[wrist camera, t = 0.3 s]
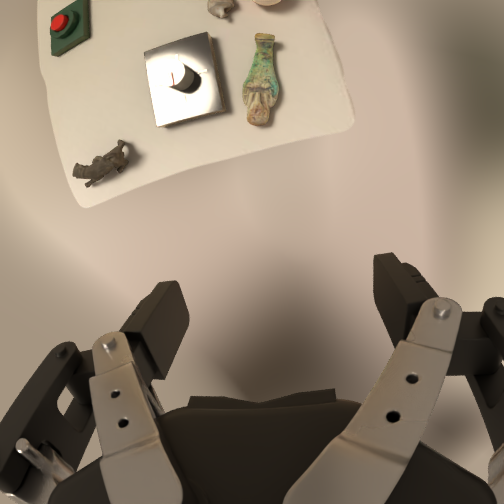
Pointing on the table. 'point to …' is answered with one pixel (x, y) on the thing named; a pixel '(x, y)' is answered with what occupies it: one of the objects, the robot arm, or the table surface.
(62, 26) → the button
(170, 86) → the knob
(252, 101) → the figurine
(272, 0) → the egg
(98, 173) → the grey animal-shaped piece
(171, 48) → the black dial control panel
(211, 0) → the seashell
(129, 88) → the table surface
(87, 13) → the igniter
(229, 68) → the table surface
